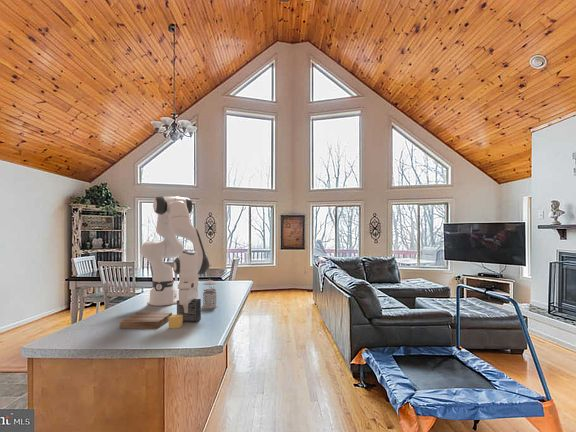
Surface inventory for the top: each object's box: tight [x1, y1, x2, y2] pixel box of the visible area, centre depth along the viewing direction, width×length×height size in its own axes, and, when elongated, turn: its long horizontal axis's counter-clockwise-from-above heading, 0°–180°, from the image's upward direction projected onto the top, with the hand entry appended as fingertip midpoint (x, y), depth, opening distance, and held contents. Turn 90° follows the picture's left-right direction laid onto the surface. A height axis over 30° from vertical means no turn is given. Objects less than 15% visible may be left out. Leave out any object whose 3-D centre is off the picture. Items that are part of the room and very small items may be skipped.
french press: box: [201, 263, 219, 309], centre depth 209 cm, size 10×12×25 cm
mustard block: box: [168, 314, 184, 329], centre depth 165 cm, size 5×5×5 cm
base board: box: [119, 312, 173, 329], centre depth 172 cm, size 18×18×3 cm
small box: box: [176, 298, 202, 323], centre depth 176 cm, size 11×6×10 cm, turn 84°
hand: (189, 310), depth 176 cm, fingers open, 8 cm apart
